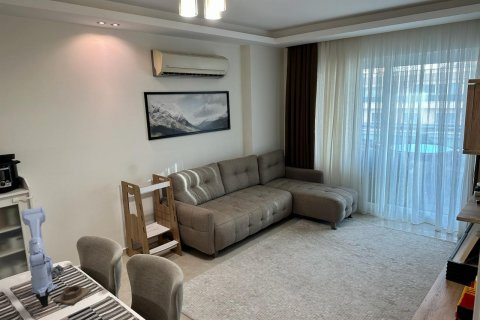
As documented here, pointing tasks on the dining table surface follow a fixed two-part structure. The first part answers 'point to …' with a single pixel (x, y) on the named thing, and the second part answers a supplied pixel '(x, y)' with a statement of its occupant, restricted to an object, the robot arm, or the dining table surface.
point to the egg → (48, 300)
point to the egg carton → (57, 271)
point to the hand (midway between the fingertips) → (45, 301)
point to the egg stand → (72, 295)
